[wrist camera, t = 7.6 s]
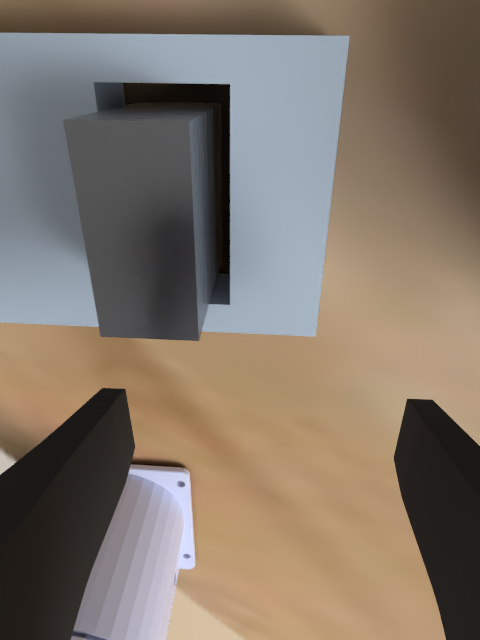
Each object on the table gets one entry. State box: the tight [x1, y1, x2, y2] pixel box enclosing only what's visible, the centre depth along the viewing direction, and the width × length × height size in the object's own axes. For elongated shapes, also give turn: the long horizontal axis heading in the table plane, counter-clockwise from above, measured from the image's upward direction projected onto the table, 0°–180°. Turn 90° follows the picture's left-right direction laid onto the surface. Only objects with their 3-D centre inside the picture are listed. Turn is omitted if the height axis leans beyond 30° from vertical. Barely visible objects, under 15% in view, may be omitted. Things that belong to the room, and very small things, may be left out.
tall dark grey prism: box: [63, 102, 223, 341], centre depth 15 cm, size 6×3×7 cm, turn 0°
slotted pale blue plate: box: [0, 33, 350, 336], centre depth 17 cm, size 10×17×3 cm, turn 90°
